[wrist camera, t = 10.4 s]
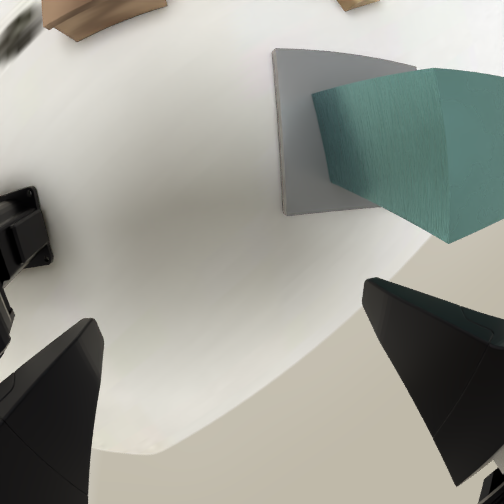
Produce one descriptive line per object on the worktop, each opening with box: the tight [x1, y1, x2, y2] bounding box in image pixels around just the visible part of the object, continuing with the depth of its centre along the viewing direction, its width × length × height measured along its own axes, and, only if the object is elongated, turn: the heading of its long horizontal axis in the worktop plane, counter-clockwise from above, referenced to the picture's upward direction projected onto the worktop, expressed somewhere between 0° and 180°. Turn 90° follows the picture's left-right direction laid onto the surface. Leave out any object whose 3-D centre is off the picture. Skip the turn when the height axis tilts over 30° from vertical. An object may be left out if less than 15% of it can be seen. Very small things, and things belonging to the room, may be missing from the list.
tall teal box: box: [311, 68, 504, 244], centre depth 14 cm, size 6×6×12 cm
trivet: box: [272, 48, 417, 216], centre depth 19 cm, size 12×12×1 cm
